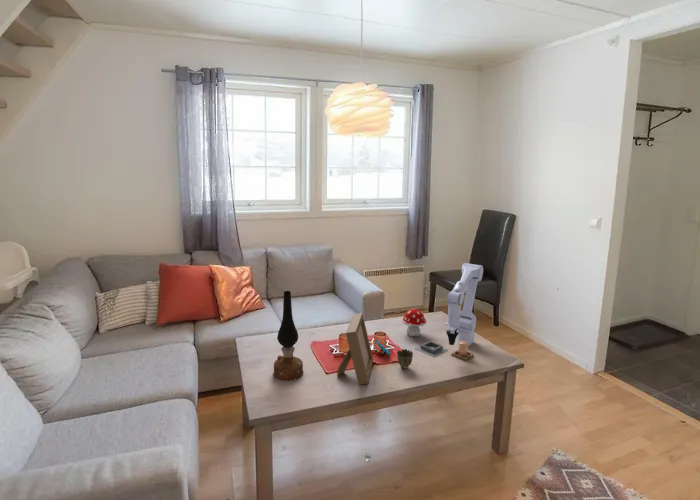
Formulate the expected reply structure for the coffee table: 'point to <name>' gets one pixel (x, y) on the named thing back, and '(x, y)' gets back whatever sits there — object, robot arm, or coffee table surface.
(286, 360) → the oil lamp
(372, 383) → the coffee table surface
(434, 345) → the socket board
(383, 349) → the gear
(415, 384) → the coffee table surface
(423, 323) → the decorative mushroom
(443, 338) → the coffee table surface
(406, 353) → the cup
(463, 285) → the robot arm
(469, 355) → the holder
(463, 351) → the peg
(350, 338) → the photo frame
